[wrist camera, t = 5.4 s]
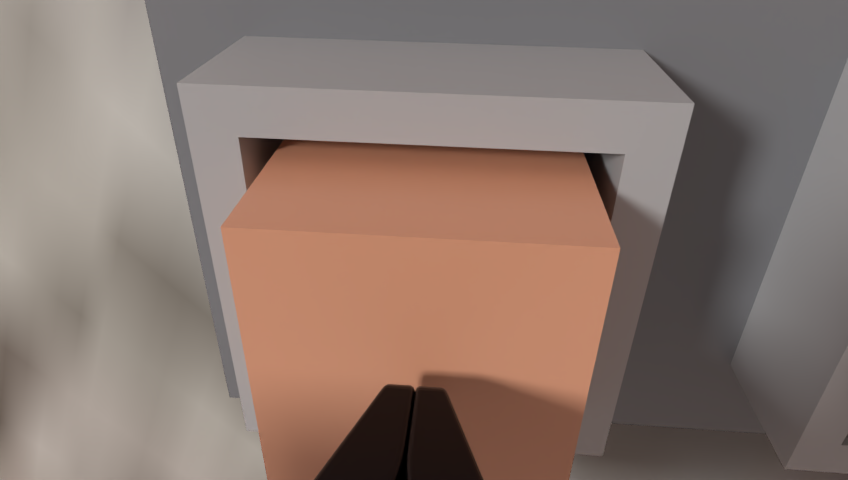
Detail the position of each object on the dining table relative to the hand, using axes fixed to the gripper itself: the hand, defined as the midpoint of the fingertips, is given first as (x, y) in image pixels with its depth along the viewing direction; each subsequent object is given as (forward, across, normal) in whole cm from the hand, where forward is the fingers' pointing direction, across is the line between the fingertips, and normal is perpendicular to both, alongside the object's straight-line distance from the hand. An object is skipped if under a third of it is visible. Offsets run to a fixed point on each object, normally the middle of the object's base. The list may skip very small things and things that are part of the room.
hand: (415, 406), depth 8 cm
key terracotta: (+3, 0, 0) cm, 3 cm away
